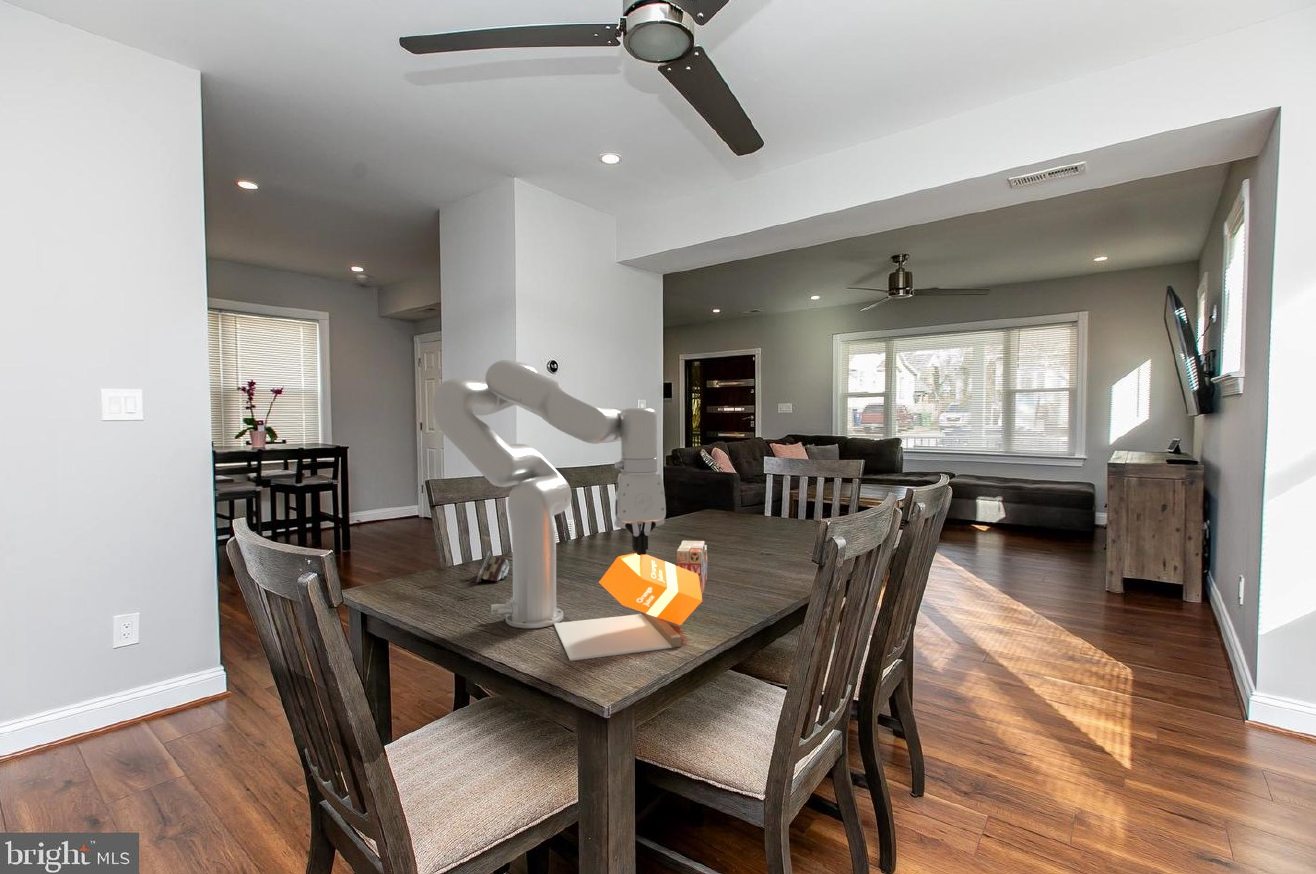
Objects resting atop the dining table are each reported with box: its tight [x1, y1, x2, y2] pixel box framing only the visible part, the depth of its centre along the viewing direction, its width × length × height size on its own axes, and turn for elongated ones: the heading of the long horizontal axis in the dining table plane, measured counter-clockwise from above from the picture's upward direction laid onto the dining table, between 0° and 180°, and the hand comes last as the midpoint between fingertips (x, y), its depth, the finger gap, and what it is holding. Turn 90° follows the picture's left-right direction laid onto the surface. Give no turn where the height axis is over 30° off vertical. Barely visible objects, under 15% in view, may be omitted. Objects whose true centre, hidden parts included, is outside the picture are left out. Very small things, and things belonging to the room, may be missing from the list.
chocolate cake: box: [476, 549, 510, 583], centre depth 166 cm, size 10×7×12 cm
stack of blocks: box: [676, 540, 708, 596], centre depth 159 cm, size 21×6×12 cm, turn 171°
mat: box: [553, 612, 682, 662], centre depth 124 cm, size 22×20×2 cm
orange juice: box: [598, 552, 703, 626], centre depth 127 cm, size 8×9×20 cm
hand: (640, 553), depth 126 cm, fingers closed
